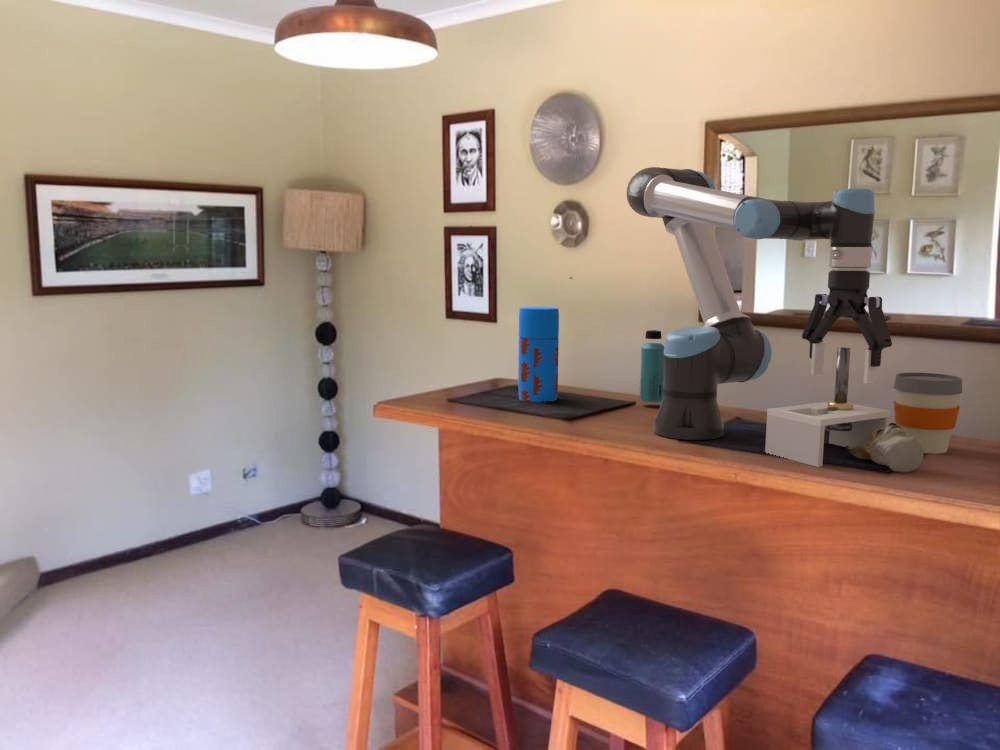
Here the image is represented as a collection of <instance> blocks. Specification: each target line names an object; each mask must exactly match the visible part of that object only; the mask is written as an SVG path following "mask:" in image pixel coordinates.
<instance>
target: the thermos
mask: <svg viewBox="0 0 1000 750" xmlns="http://www.w3.org/2000/svg"><path fill="white" fill-rule="evenodd" d="M559 326H560V312H559V308H558V307H550V306H549V307H547V306H529V307H528V306H526V307H525V306H523V307H519V312H518V363H517V364H518V372H517V373H518V376H517V379H518V381H517V384H518V389H517V390H518V399H519V401H522V402H526V401H528V402H527V403H547V402H546V401H552V402H556V401H557V400H558V389H559V345H560V344H559V340H560V338H559V337H560V336H559V334H560V333H559V331H560V327H559ZM555 400H556V401H555ZM542 401H544V402H542Z"/></svg>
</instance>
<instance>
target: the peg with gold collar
mask: <svg viewBox="0 0 1000 750" xmlns="http://www.w3.org/2000/svg"><path fill="white" fill-rule="evenodd" d="M836 349H837V351H836V363H835V365H836V366H835V367H836V368H835V384H834V398H833V400H828V401H827V402H828V405H827V408H829V409H833V410H835V411H836V410H853V404H855V403H854V402H852V401H849V400H848V392H849V391H848V390H849V379H850V378H849V376H850V364H851V363H850V361H851V347H848V346H838V347H837V348H836ZM825 429H827V430H829V431H830V430H834V431H851V430H852V423H850V422H848V423H840V424H833V425H825Z"/></svg>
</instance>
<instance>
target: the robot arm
mask: <svg viewBox="0 0 1000 750" xmlns="http://www.w3.org/2000/svg"><path fill="white" fill-rule="evenodd" d="M626 200H627V203H628V205H629V206H630V208H631V209H632V211H634V212H635V213H637V214H638V215H641V216H643V217H648V218H658V219H660V218H661V219H662V221H663V225H664V227H665V230H666V232H667V233H668V234H671V235H673V236H674V237H675V240H676V243H677V247H678V249H679V253H680V255H681V258H682V262H683V264H684V267H685V270H686V273H687V276H688V279H689V283H690V284H691V289H692V291H693V293H694V297H695V301H696V304H697V306H698V309H699V312H700V315H701V318H702V321H703V324H704V325H703V326H702V325H701V326H700V325H699V326H697V325H696V326H693V327H692V326H688V327H680V328H677V329H676V328H675V329H673V330H671V331H670V332H668V333H667V335H666V336H665V340H664V347H665V348H664V383H663V399H662V402H660V406H659V409H658V413H657V416H656V418H655V420H654V421H653V423H654V424H653V433H655V434H656V435H658V436H660V437H661V436H662V437H665V438H669V439H670V438H671V439H677V440H688V441H689V440H691V441H703V440H705V441H706V440H714V439H719V438H721V437H722V438H723V436H724V430H725V429H724V428H725V427H724V422H723V421H722V416H721V412H720V408H719V404H718V385H720V384H730V383H731V384H732V383H745V382H747V381H748V382H749V381H752V380H756V379H758V378H760V377H761V376H762V375H763V374H764V373H766V371H767V370H768V368H769V364H770V363H771V360H772V345H771V341H770V339H769V338H768V336H767V335H766V334H765V333H764V332H761V331H760V330H758V329H754V326H753V323H752V320H751V317H750V316H748V315H747V314H744V313H742V312H741V309H740V307H739V303H738V301H737V297H736V295H735V291H734V289H733V287H732V284H731V281H730V278H729V275H728V272H727V268H726V266H725V263H724V260H723V257H722V255H721V252H720V249H719V245H718V243H717V241H716V238H715V234H714V232H713V228H712V227H716V228H719V229H723V230H728V231H732V232H736V233H739V235H741V236H742V237H744V238H746V239H747V238H748V239H752V240H753V239H754V240H763V239H766V240H767V239H768V240H769V239H773V240H774V239H775V240H776V239H778V240H792V241H800V242H801V241H808V240H811V241H813V240H830V245H829V246H830V247H829V263H828V264H829V265H828V266H829V268H831V270H829V272H828V278H827V289H829V293H828V294H827V293H817V294H815V296H814V303H813V307H812V309H811V312H810V314H809V317H808V319H807V322H806V325H805V327H804V330H803V332H802V334H801V339H803V340H806V341H808V342H809V358H810V359H811V363H810V364H811V365H810V376H823V374H824V360H825V359H824V358H825V357H824V356H825V345H826V344H825V343H823V342H824V341H823V340H824V338H825V337H826V335H827V334H828V333H829V331H830V330H831V328H832V327H833V325H834V324H835V322H836V321H837V320H838V319H840V318H843V317H844V318H851V319H852V321H854V322H855V323H856V324H857V327H858V329H859V331H860V333H861V334H862V336H863V338H864V340H865V343H866V344H867V345H868V348H867V349H865V356H864V368H863V369H864V371H863V384H866V385H870V384H876V383H877V376H878V375H877V374H878V373H877V372H878V367H880V366H881V363H882V352H883V351H882V350H884V349H887V348H891V347H892V346H893V341H892V338H891V335H890V331H889V328H888V325H887V320H886V317H885V314H884V312H883V311H884V310H883V298H882V297H881V296H869V297H868V290H869V289H870V282H871V281H870V279H871V273H870V271H869V270H868V269H869V268H870V269H871V267H872V249H873V248H872V240H873V230H874V229H873V228H874V220H875V214H876V210H875V193H874V191H873V190H872V189H870V188H842V189H836V190H834V192H833V195H832V199H831V200H829V201H809V202H808V201H796V200H795V201H791V200H776V199H768V198H767V199H766V198H763V197H757V196H752V195H746V194H741V193H740V194H739V193H736V192H731V191H730V192H729V191H727V190H720V189H716V186H715V184H714V182H713V181H712V179H711V178H710V177H709V175H707V174H706V173H704V172H702V171H699V170H695V169H691V168H684V169H680V168H679V169H678V168H677V169H676V168H668V167H667V168H666V167H659V166H658V167H657V166H652V167H651V166H650V167H646V168H644V169H641V170H639V171H637V172H636V173H635V174H634V175H633V176H632V177H631V179H630V180H629V182H628V184H627V187H626ZM828 305H829V307H828ZM865 307H867V308H868V311H867V310H866V308H865ZM827 308H828V309H827ZM869 318H870V319H869Z"/></svg>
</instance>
